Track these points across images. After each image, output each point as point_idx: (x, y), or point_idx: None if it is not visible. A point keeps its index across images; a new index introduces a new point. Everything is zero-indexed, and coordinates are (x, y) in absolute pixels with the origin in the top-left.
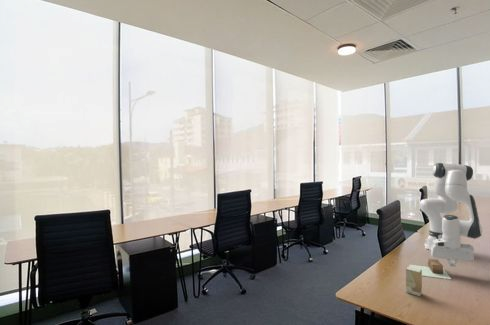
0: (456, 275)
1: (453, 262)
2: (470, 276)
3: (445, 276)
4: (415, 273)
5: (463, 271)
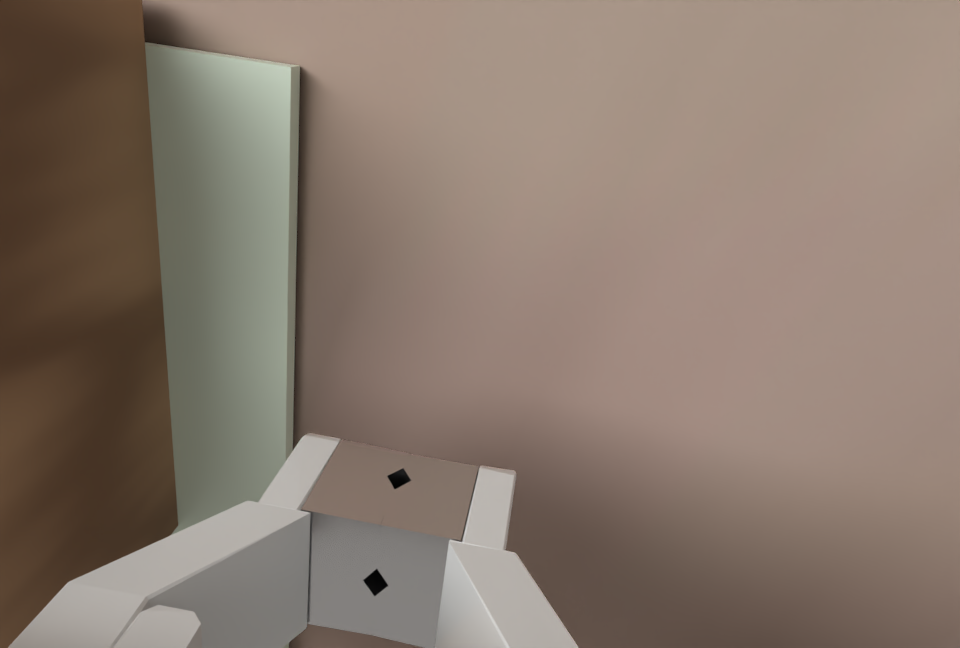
0: None
1: (458, 570)
2: (839, 518)
3: None
4: None
5: (925, 146)
